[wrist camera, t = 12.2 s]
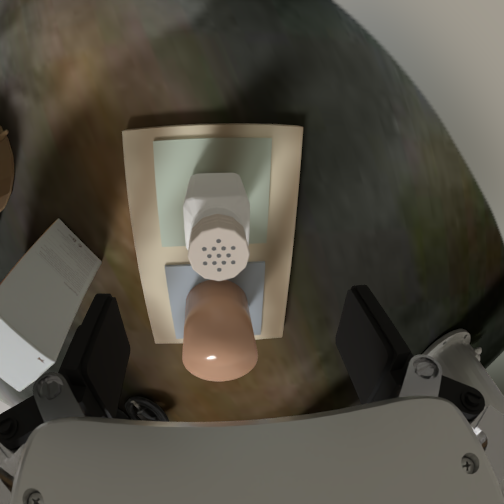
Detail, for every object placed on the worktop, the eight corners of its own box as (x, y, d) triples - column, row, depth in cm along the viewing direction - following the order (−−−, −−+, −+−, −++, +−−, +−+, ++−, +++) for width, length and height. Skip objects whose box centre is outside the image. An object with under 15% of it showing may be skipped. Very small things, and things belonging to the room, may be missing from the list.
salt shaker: (239, 217, 25) (256, 286, 17) (191, 219, 24) (183, 289, 16) (240, 170, 23) (259, 218, 15) (188, 171, 22) (176, 221, 14)
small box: (59, 215, 24) (-16, 301, 13) (103, 261, 27) (57, 364, 16) (23, 262, 25) (-37, 347, 14) (63, 301, 28) (20, 394, 17)
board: (298, 125, 23) (304, 127, 22) (279, 330, 34) (282, 339, 33) (126, 129, 21) (121, 131, 20) (156, 335, 32) (155, 345, 31)
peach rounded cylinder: (248, 277, 28) (259, 330, 22) (246, 325, 31) (256, 378, 25) (182, 280, 27) (177, 334, 21) (188, 328, 30) (187, 382, 24)
